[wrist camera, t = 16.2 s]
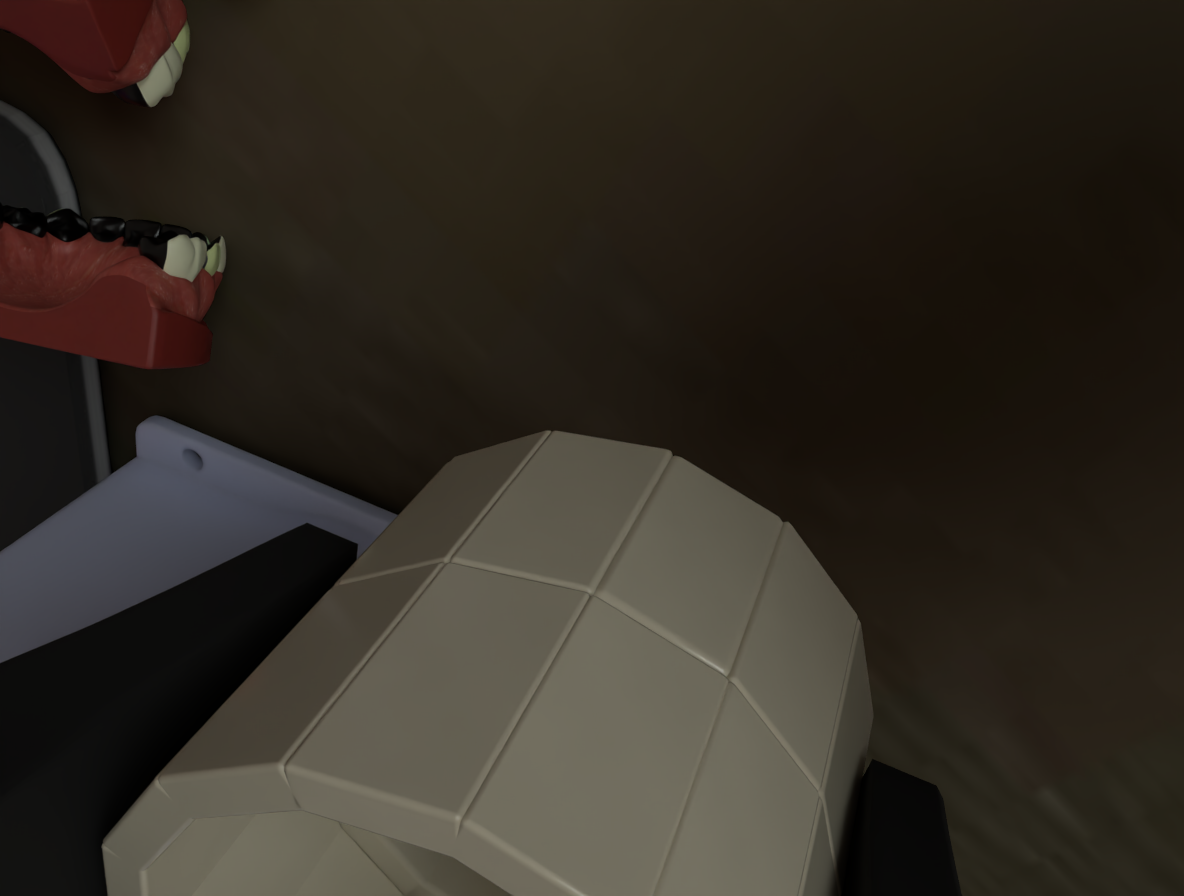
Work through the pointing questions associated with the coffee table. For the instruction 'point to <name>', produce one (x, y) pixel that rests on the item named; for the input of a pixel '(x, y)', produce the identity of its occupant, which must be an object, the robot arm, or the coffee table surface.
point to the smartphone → (43, 364)
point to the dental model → (102, 256)
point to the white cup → (535, 704)
